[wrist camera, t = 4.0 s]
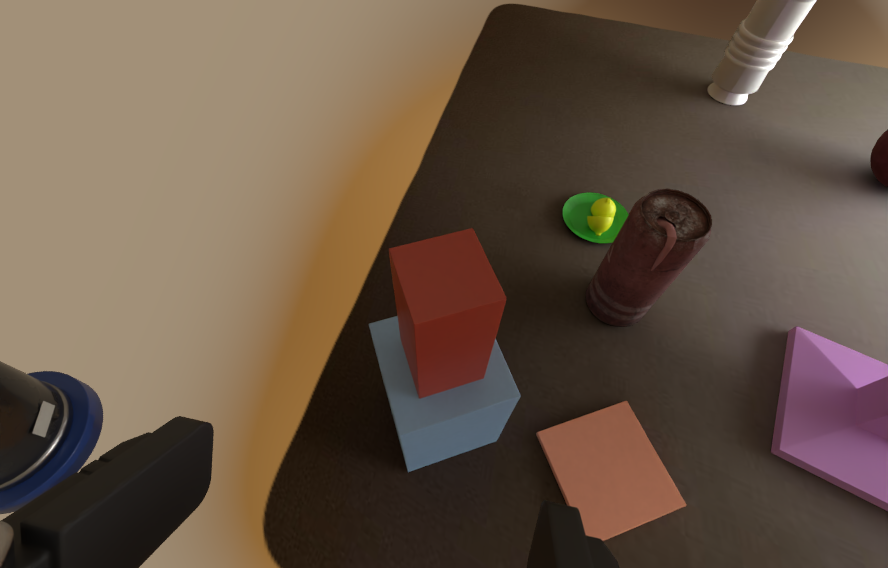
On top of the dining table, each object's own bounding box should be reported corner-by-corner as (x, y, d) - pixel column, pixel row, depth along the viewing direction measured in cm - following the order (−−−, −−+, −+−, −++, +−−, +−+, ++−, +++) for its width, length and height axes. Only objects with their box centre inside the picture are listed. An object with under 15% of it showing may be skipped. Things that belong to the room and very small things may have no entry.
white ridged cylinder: (716, 75, 69) (779, -33, 57) (758, 94, 67) (834, -15, 54) (695, 92, 67) (757, -18, 54) (738, 112, 64) (813, 2, 51)
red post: (419, 399, 27) (413, 325, 19) (400, 338, 29) (388, 248, 21) (484, 378, 28) (507, 298, 19) (461, 321, 30) (472, 227, 22)
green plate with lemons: (633, 249, 49) (643, 233, 47) (563, 243, 50) (570, 227, 47) (623, 198, 54) (632, 182, 51) (559, 193, 54) (565, 176, 52)
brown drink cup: (582, 324, 44) (638, 237, 32) (585, 274, 47) (636, 179, 35) (643, 336, 43) (722, 252, 31) (641, 285, 47) (712, 191, 35)
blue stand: (407, 472, 36) (399, 436, 26) (384, 384, 40) (368, 323, 30) (496, 441, 37) (521, 395, 27) (465, 359, 41) (475, 293, 31)
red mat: (585, 547, 33) (587, 547, 33) (535, 433, 38) (537, 432, 37) (683, 506, 35) (686, 505, 34) (624, 402, 39) (626, 400, 39)
